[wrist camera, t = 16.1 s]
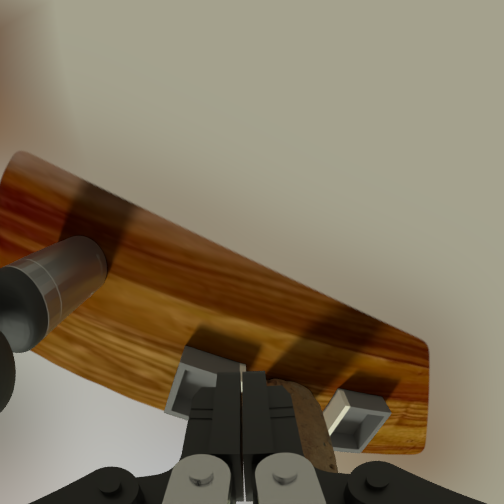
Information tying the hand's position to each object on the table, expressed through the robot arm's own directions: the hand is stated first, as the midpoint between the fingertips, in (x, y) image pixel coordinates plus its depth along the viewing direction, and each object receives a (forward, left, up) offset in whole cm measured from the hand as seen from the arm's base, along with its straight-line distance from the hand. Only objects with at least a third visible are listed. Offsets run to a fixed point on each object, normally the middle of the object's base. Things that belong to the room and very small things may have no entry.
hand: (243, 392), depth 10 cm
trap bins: (+6, -30, -35) cm, 47 cm away
